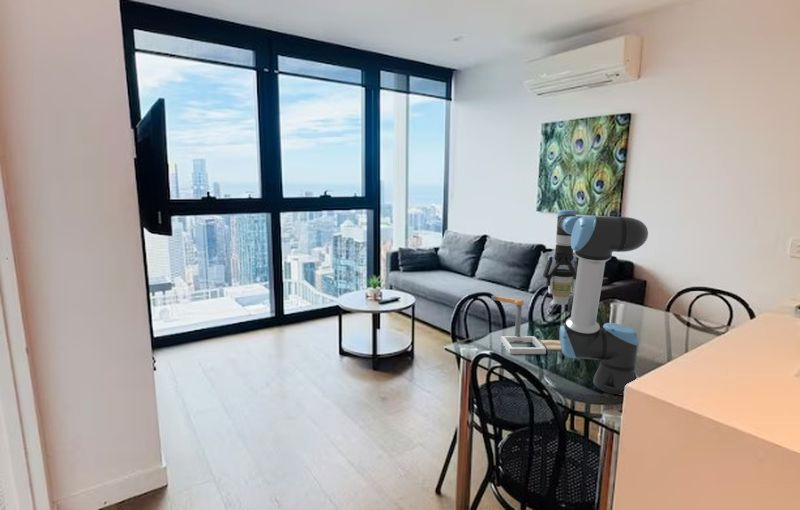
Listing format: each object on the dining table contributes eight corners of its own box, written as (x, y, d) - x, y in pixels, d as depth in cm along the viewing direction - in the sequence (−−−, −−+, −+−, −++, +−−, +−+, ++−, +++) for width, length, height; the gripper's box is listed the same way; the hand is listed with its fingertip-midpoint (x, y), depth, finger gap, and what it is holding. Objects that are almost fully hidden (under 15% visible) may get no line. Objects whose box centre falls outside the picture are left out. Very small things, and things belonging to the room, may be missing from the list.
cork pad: (575, 350, 203) (575, 349, 203) (549, 350, 203) (549, 349, 203) (565, 341, 215) (565, 340, 215) (540, 341, 214) (540, 340, 214)
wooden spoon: (490, 300, 219) (491, 296, 218) (494, 298, 222) (494, 294, 221) (521, 305, 209) (521, 302, 209) (524, 304, 212) (525, 300, 212)
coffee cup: (557, 306, 200) (559, 273, 197) (544, 300, 209) (546, 269, 206) (576, 305, 202) (579, 272, 200) (563, 299, 211) (565, 268, 209)
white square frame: (545, 354, 199) (548, 315, 196) (509, 354, 198) (511, 315, 195) (532, 339, 217) (534, 304, 214) (499, 339, 216) (501, 304, 214)
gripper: (585, 243, 205) (581, 291, 209) (537, 243, 204) (534, 290, 208) (593, 245, 198) (589, 295, 201) (542, 245, 197) (539, 294, 201)
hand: (561, 292), depth 205 cm, fingers closed on coffee cup, 10 cm apart
